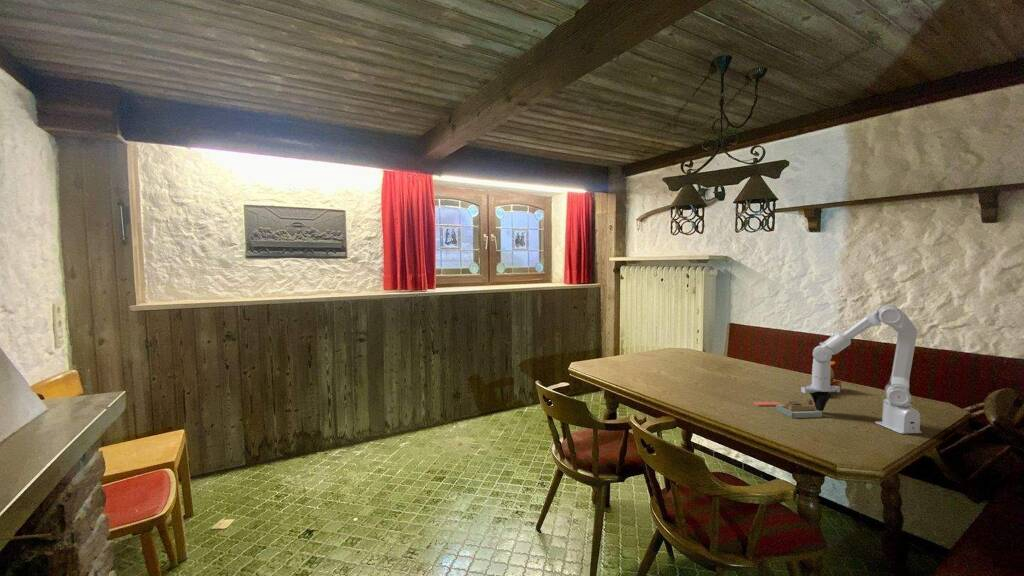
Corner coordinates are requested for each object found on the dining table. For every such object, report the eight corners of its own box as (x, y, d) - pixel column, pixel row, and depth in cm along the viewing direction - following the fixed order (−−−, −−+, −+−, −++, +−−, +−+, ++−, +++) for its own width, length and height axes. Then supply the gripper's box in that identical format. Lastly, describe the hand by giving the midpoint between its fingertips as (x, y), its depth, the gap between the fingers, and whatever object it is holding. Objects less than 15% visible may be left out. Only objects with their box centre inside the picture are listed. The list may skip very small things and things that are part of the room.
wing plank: (776, 404, 169) (776, 401, 169) (782, 407, 165) (782, 404, 165) (753, 404, 169) (753, 401, 169) (758, 407, 166) (758, 404, 165)
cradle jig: (821, 417, 154) (822, 412, 154) (791, 418, 153) (791, 413, 153) (804, 408, 162) (804, 404, 162) (775, 409, 161) (776, 405, 161)
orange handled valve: (842, 390, 184) (843, 361, 183) (822, 399, 173) (824, 368, 172) (821, 385, 191) (822, 357, 190) (801, 394, 180) (802, 364, 179)
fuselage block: (814, 416, 155) (815, 402, 155) (790, 415, 156) (791, 401, 155) (807, 412, 159) (808, 398, 159) (784, 411, 160) (784, 398, 159)
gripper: (829, 372, 161) (828, 405, 162) (795, 374, 160) (794, 406, 161) (845, 378, 154) (843, 412, 155) (809, 379, 153) (808, 413, 154)
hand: (819, 410), depth 158 cm, fingers closed
